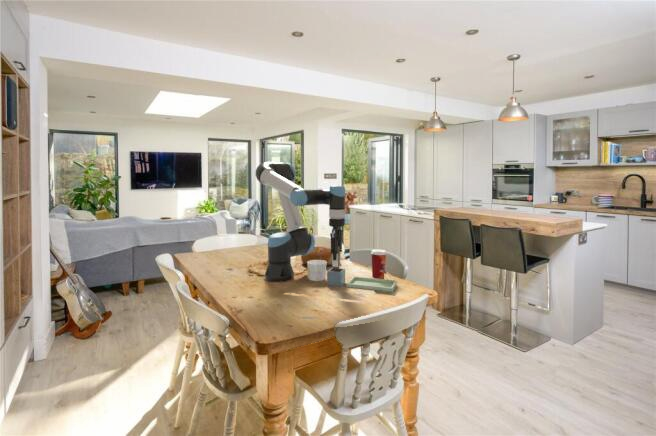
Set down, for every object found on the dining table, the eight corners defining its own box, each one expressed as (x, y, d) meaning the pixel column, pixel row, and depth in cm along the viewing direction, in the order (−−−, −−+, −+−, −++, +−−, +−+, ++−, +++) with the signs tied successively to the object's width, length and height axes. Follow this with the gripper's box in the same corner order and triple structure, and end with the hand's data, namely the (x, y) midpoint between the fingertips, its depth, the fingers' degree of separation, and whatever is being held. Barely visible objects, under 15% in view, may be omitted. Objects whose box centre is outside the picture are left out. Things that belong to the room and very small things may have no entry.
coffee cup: (385, 281, 202) (386, 252, 200) (369, 280, 203) (370, 251, 201) (386, 277, 210) (387, 249, 208) (371, 276, 211) (371, 248, 210)
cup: (329, 279, 204) (329, 261, 203) (321, 284, 195) (321, 265, 194) (312, 277, 208) (312, 259, 207) (303, 282, 199) (303, 263, 198)
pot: (327, 287, 191) (327, 271, 190) (331, 283, 197) (331, 267, 196) (341, 288, 188) (341, 272, 187) (345, 284, 195) (345, 268, 194)
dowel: (332, 283, 192) (332, 246, 190) (333, 281, 195) (334, 245, 192) (338, 283, 191) (338, 247, 189) (339, 282, 194) (340, 246, 192)
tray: (346, 288, 188) (346, 283, 188) (353, 281, 201) (353, 276, 201) (392, 293, 181) (392, 288, 181) (396, 285, 195) (396, 280, 194)
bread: (339, 268, 228) (340, 251, 227) (299, 268, 228) (299, 251, 227) (339, 259, 251) (339, 244, 250) (302, 259, 251) (302, 243, 250)
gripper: (339, 220, 180) (338, 270, 183) (348, 216, 195) (348, 262, 198) (324, 219, 183) (323, 268, 185) (334, 215, 198) (333, 261, 200)
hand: (336, 265), depth 192 cm, fingers closed on dowel, 3 cm apart
